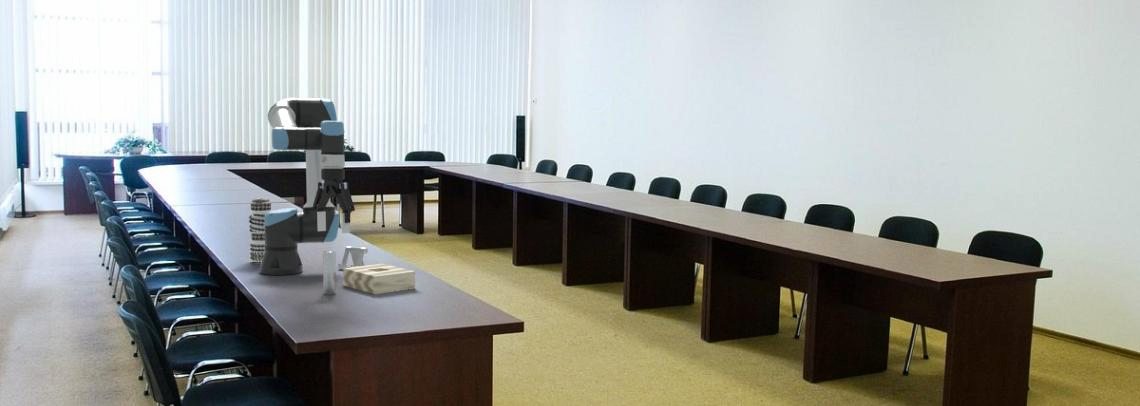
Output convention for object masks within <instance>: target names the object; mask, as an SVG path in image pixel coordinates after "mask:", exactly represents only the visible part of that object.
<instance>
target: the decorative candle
mask: <svg viewBox="0 0 1140 406" xmlns="http://www.w3.org/2000/svg"><path fill="white" fill-rule="evenodd" d="M249 203H250V215H249V216H248V219H249V220H248V223H250V225H249V228H250V229H249V233H250V234H251V238H250V244H249V246H250V249H249V250H250V251H251V252H250V253H249V254H250V257H249V258H250V259H251V260H250V263H252V262H262V259H263V256H264V253H265V226H264V223H265V215H266V213H268V212H270V211H273V209H272V201H271V200H270V199H269V198H267V197H256V198H253V199H251V201H250V202H249Z"/></svg>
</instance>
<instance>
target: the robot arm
mask: <svg viewBox="0 0 1140 406" xmlns="http://www.w3.org/2000/svg"><path fill="white" fill-rule="evenodd" d="M267 119H268V123H269V125H270V126H271V128H272V129H271V147H272V149H273V150H276V151H305V172H306V173H305V175H306V177H305V179H306V203H305V204H304V205H303V207H302V211H299V210H298V209H297V207H290V208H289V207H287V208H279V209H274V210H273V209H272V211H270V212H268V213H266V215H265V223H264V226H265V253H264V256H263V259H262V262H261V263H260V266H259V272H260V274H262V275H268V276H270V275H271V276H284V275H287V276H288V275H297V274H299V273H303V268H304V267H303V263H302V259H301V257H300V254H299V251H298V245H299V244H315V243H317V244H319V243H322V244H324V243H332V242H335V240H336V239H337V236H338V233H339V227H340V226H339V225H340V211H338V210H336V208H335V207H336V206H335V205H334V204H333V203H332V201H331V197H334V198H335V199H336V201H337V203H338V204H339V207H340V209H341V234H350V233H351V213H352V212H355V211H356V208H355V205H354V201H353V199H352V195H351V192H350V188H349V182H343V180H345V178H346V177H345V170H346V169H344V167H345V165H346V164H345V162H346V161H345V126H344V122H343V121H341V120H338V117H337V111H336V107H335V104H334V102H333V101H332V99H329V98H321V97H318V98H317V97H312V98H311V97H310V98H308V97H305V98H303V97H288V98H284V99H282V100H281V99H280V100H279V101H277V102H276V103H274V104H273V105H272V106H271V107H270V109H269V110H268V113H267Z"/></svg>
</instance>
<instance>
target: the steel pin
mask: <svg viewBox="0 0 1140 406" xmlns="http://www.w3.org/2000/svg"><path fill="white" fill-rule="evenodd" d="M336 254H337V253H336V251H335V250H325V251H323V252H322V269H323V270H322V278H323V279H322V281H323V282H322V288H323V290H322V294H323V295H325V296H334V295H336V294H337V293H336V292H337V287H336V285H337V283H336V282H337V279H336V278H337V276H336V274H337V271H336V270H337V267H336V263H337V262H336V258H337V257H336V256H337V255H336Z"/></svg>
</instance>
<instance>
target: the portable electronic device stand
mask: <svg viewBox="0 0 1140 406" xmlns="http://www.w3.org/2000/svg"><path fill="white" fill-rule="evenodd" d="M368 252H369V251H368V248H367V247H361V246H360V247H359V246H351V245H350V246H348V245H347V246H346V247H345V250H344V254H343V256H342V262H341V263H338V265H337V266H338V267H337V268H338V270H340V271H343V268H350V267H358V266H365V263H364V256H365V255H366V254H367V253H368ZM349 255H350V257H351V260H352V263H353V264H351V265H350V266H347V263H348V259H349Z"/></svg>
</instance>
